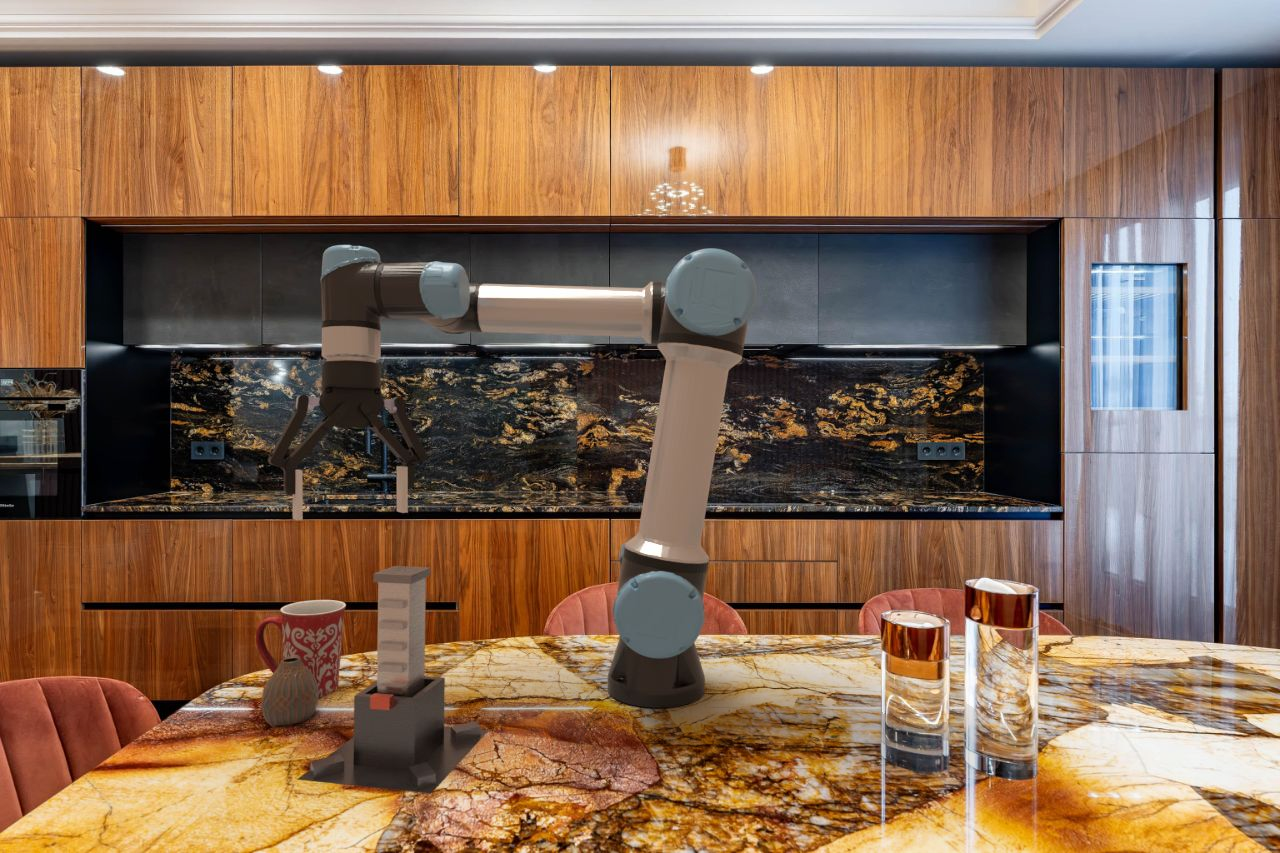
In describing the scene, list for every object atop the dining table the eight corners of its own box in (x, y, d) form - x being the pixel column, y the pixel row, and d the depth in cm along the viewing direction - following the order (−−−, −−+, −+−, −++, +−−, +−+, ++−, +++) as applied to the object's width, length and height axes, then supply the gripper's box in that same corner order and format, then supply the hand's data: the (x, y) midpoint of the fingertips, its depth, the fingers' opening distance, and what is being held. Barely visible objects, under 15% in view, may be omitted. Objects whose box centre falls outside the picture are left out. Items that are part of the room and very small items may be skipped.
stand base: (488, 737, 90) (489, 664, 90) (431, 802, 74) (432, 713, 74) (375, 727, 93) (376, 657, 93) (297, 788, 77) (298, 702, 77)
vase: (248, 730, 92) (249, 664, 92) (291, 710, 98) (292, 649, 98) (288, 738, 89) (289, 670, 89) (329, 718, 96) (330, 654, 96)
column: (428, 745, 85) (430, 567, 86) (408, 764, 81) (410, 575, 81) (392, 742, 86) (394, 566, 86) (370, 761, 81) (372, 573, 82)
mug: (354, 685, 108) (355, 599, 108) (329, 708, 99) (330, 614, 99) (273, 685, 108) (274, 598, 108) (240, 708, 99) (241, 613, 99)
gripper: (431, 368, 105) (432, 507, 105) (244, 358, 91) (244, 519, 91) (449, 363, 99) (450, 511, 99) (251, 353, 85) (252, 525, 85)
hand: (352, 515), depth 95 cm, fingers open, 13 cm apart
